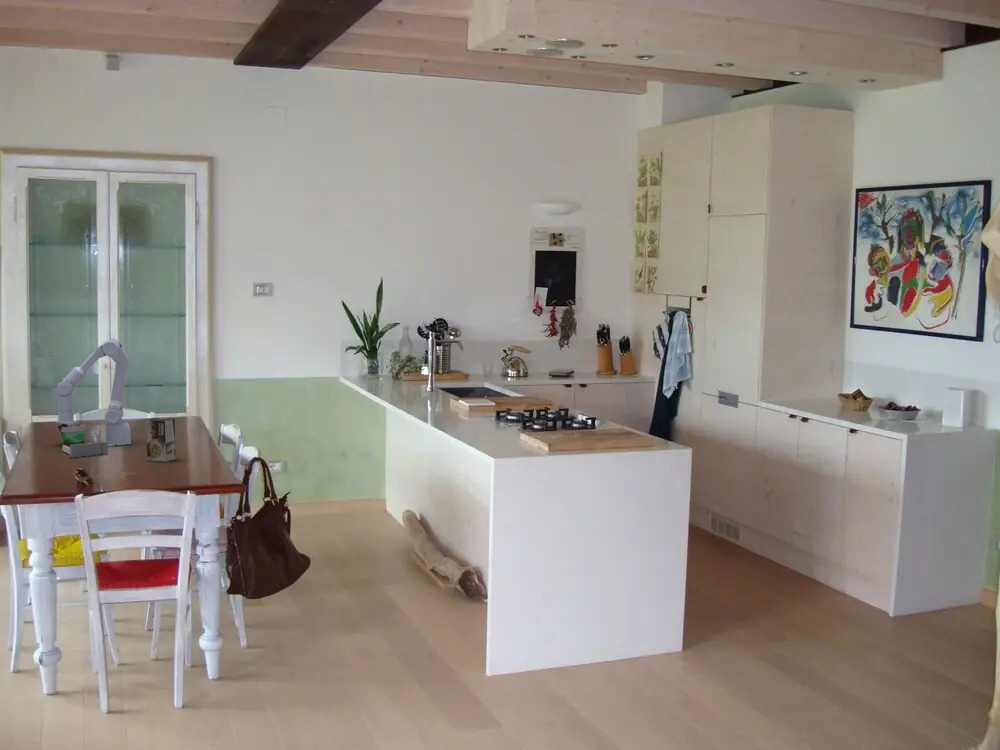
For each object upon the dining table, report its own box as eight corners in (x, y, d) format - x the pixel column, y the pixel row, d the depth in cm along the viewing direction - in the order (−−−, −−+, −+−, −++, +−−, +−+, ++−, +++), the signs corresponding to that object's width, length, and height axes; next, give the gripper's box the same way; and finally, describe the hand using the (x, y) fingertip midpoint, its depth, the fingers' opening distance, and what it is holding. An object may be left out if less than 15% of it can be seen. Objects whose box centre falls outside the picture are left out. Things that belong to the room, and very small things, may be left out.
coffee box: (176, 459, 407) (175, 418, 405) (166, 462, 401) (165, 420, 399) (157, 457, 410) (156, 417, 408) (146, 460, 404) (145, 419, 402)
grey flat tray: (94, 448, 427) (93, 436, 426) (107, 454, 414) (107, 442, 414) (58, 452, 418) (58, 439, 418) (71, 458, 405) (71, 445, 405)
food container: (74, 452, 418) (74, 427, 417) (61, 451, 420) (60, 426, 419) (94, 447, 430) (93, 423, 429) (81, 446, 432) (80, 422, 430)
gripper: (50, 408, 434) (51, 440, 435) (61, 412, 422) (62, 445, 424) (67, 407, 438) (68, 439, 440) (78, 411, 427) (79, 444, 428)
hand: (66, 442), depth 432 cm, fingers closed
